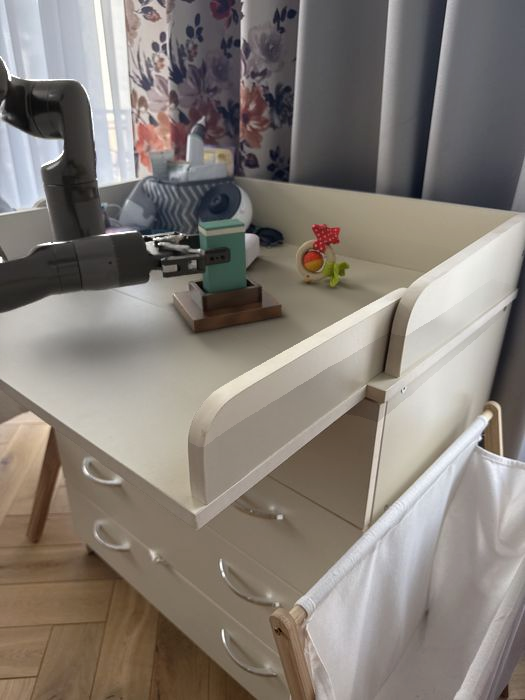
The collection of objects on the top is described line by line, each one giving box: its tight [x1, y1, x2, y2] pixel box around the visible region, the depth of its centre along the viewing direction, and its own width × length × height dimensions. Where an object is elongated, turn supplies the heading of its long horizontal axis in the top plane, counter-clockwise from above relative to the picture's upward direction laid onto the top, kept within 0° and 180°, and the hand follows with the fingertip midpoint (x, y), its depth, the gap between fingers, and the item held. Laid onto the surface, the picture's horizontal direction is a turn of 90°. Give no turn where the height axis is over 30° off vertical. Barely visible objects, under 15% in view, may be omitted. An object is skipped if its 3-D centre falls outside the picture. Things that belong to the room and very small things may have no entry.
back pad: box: [198, 218, 247, 294], centre depth 83 cm, size 6×4×12 cm, turn 113°
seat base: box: [172, 273, 282, 333], centre depth 86 cm, size 14×12×4 cm
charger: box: [245, 232, 260, 269], centre depth 105 cm, size 5×9×15 cm
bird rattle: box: [295, 223, 350, 288], centre depth 95 cm, size 6×11×9 cm
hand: (220, 246), depth 82 cm, fingers open, 8 cm apart
